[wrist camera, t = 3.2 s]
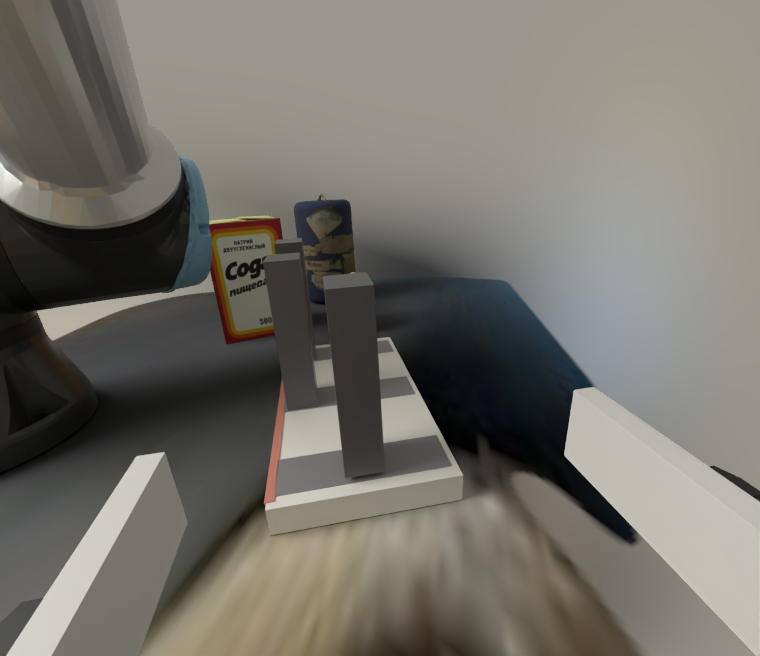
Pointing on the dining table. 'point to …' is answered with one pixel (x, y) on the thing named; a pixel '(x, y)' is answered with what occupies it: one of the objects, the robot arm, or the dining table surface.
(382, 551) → the dining table surface
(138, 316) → the dining table surface
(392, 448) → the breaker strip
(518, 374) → the dining table surface
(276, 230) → the baking soda box
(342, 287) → the block
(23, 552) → the dining table surface
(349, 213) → the dark blue cylinder
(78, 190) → the robot arm
